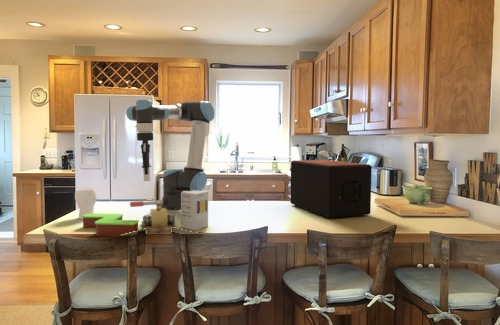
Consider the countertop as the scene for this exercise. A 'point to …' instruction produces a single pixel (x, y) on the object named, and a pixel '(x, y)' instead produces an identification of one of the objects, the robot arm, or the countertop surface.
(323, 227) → the countertop surface
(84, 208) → the cup
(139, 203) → the lever
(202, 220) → the supplement box
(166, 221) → the valve
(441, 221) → the countertop surface
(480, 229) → the countertop surface
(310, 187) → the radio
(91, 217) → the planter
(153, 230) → the board
